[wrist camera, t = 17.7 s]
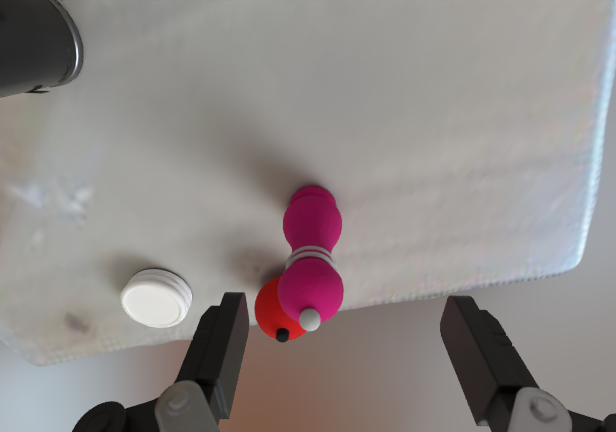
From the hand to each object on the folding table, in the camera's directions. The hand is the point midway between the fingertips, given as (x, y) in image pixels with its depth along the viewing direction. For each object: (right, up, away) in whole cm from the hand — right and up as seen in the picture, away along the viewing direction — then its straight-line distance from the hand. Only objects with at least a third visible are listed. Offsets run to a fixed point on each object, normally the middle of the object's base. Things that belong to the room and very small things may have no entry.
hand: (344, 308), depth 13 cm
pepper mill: (-1, +5, +30) cm, 30 cm away
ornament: (-5, -7, +37) cm, 38 cm away
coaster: (-25, -8, +39) cm, 47 cm away
